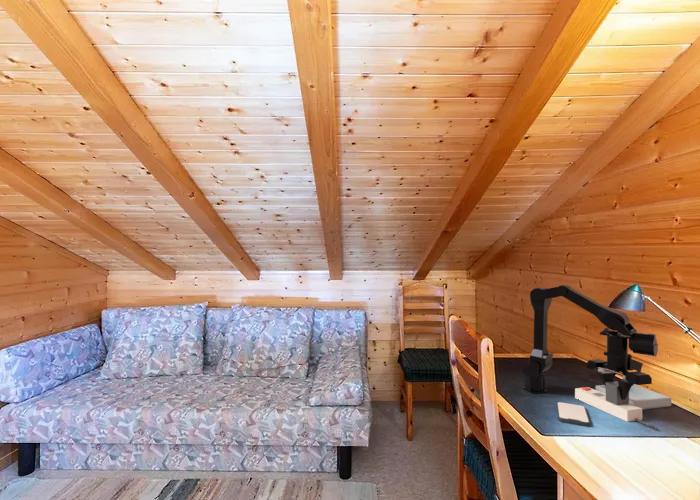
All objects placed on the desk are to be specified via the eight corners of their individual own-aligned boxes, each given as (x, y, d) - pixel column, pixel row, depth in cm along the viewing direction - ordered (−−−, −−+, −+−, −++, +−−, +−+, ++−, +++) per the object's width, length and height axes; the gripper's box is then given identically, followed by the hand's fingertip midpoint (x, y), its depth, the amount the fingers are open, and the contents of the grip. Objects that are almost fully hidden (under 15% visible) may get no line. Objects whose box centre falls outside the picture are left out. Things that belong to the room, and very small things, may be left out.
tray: (636, 410, 127) (636, 401, 127) (595, 393, 142) (595, 385, 142) (671, 406, 130) (671, 397, 130) (628, 390, 145) (628, 382, 146)
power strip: (665, 429, 113) (665, 415, 113) (649, 431, 111) (649, 417, 111) (588, 396, 139) (588, 385, 139) (575, 398, 137) (575, 386, 137)
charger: (628, 409, 123) (628, 385, 123) (616, 410, 122) (616, 386, 122) (617, 404, 127) (617, 381, 127) (605, 405, 126) (605, 382, 126)
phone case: (555, 405, 132) (557, 422, 118) (555, 401, 132) (557, 417, 118) (585, 410, 128) (591, 428, 114) (585, 405, 128) (591, 423, 114)
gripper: (665, 356, 118) (665, 406, 117) (610, 342, 136) (610, 385, 135) (637, 358, 115) (637, 409, 115) (585, 344, 133) (585, 388, 133)
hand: (617, 397), depth 124 cm, fingers closed on charger, 4 cm apart
